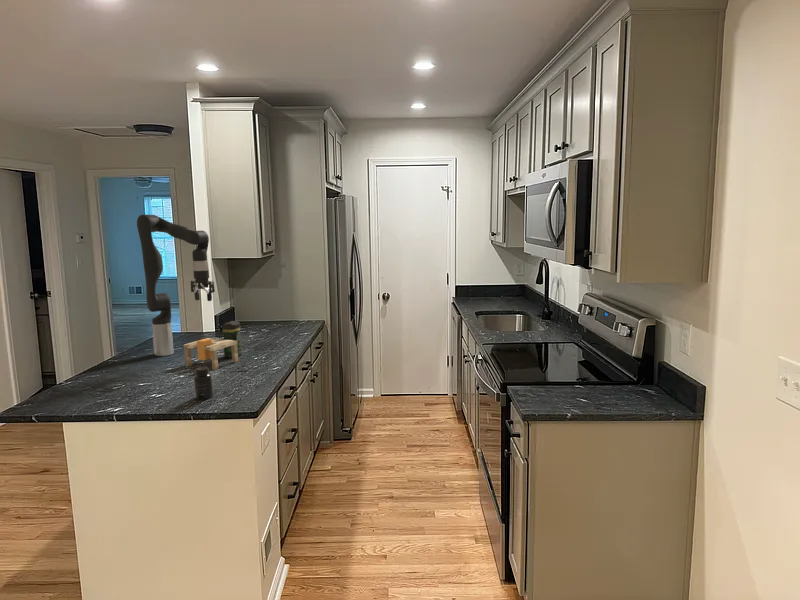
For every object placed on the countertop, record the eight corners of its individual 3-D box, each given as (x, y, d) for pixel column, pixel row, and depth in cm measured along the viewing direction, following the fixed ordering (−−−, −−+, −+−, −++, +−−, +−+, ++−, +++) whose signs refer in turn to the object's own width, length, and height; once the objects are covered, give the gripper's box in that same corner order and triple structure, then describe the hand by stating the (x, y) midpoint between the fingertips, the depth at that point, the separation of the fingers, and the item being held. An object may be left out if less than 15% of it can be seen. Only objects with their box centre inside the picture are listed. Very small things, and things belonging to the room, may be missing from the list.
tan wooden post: (198, 359, 263) (196, 340, 261) (206, 357, 268) (205, 338, 266) (204, 360, 261) (202, 341, 260) (212, 357, 266) (211, 339, 265)
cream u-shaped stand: (185, 365, 266) (183, 344, 264) (209, 358, 280) (207, 338, 278) (215, 369, 257) (213, 347, 255) (238, 361, 271) (237, 340, 270)
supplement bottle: (198, 395, 219) (195, 366, 217) (215, 394, 220) (213, 365, 218) (193, 400, 212) (190, 371, 211) (210, 399, 213) (208, 370, 211)
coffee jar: (236, 358, 278) (233, 323, 275) (222, 358, 279) (219, 323, 276) (244, 353, 287) (242, 319, 284) (231, 353, 289) (228, 319, 286)
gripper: (185, 270, 276) (187, 301, 278) (205, 270, 270) (208, 302, 272) (196, 268, 283) (199, 299, 285) (216, 269, 277) (219, 300, 279)
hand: (203, 300), depth 279 cm, fingers open, 8 cm apart
